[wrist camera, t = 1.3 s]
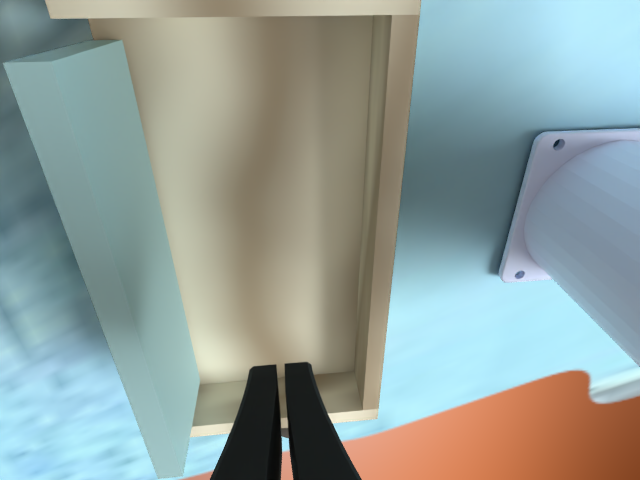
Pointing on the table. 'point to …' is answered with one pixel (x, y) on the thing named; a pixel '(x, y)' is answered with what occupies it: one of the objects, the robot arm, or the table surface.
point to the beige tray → (274, 180)
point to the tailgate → (115, 229)
